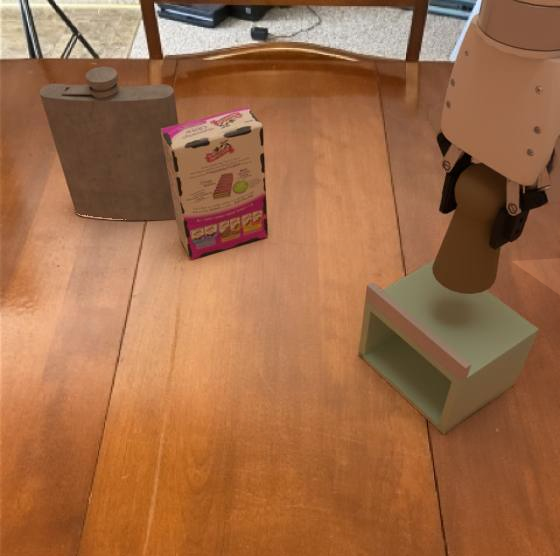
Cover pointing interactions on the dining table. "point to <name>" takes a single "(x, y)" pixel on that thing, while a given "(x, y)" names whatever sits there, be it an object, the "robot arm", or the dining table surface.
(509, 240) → the robot arm
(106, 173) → the hip flask
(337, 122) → the dining table surface
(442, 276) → the brown pawn
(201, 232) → the candy bar box
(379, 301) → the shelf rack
